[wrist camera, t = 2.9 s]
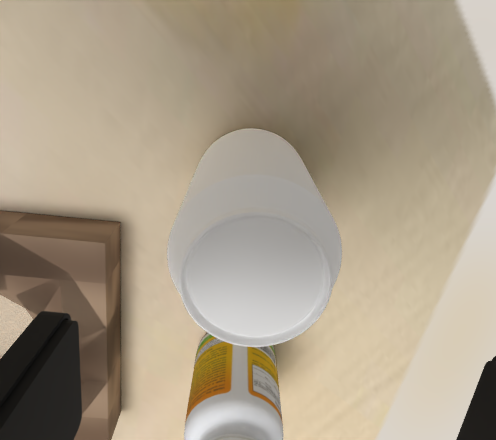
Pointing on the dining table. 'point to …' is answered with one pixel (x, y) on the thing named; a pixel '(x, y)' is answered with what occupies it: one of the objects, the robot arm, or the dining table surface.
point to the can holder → (72, 298)
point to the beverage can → (254, 242)
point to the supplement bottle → (234, 393)
